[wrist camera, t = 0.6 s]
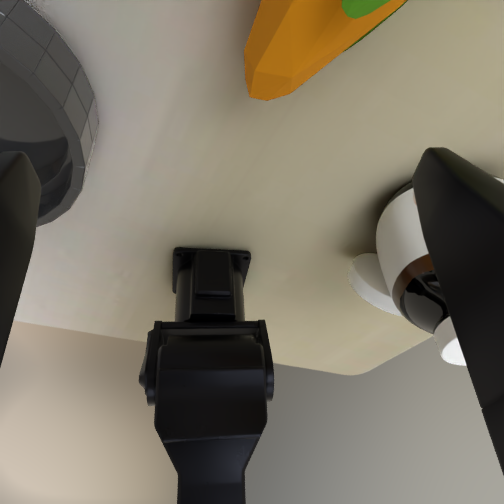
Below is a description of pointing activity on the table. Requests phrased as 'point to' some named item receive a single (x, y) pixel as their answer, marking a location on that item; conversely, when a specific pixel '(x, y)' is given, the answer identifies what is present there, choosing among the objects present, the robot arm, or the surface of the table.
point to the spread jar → (406, 274)
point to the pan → (45, 106)
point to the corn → (305, 39)
